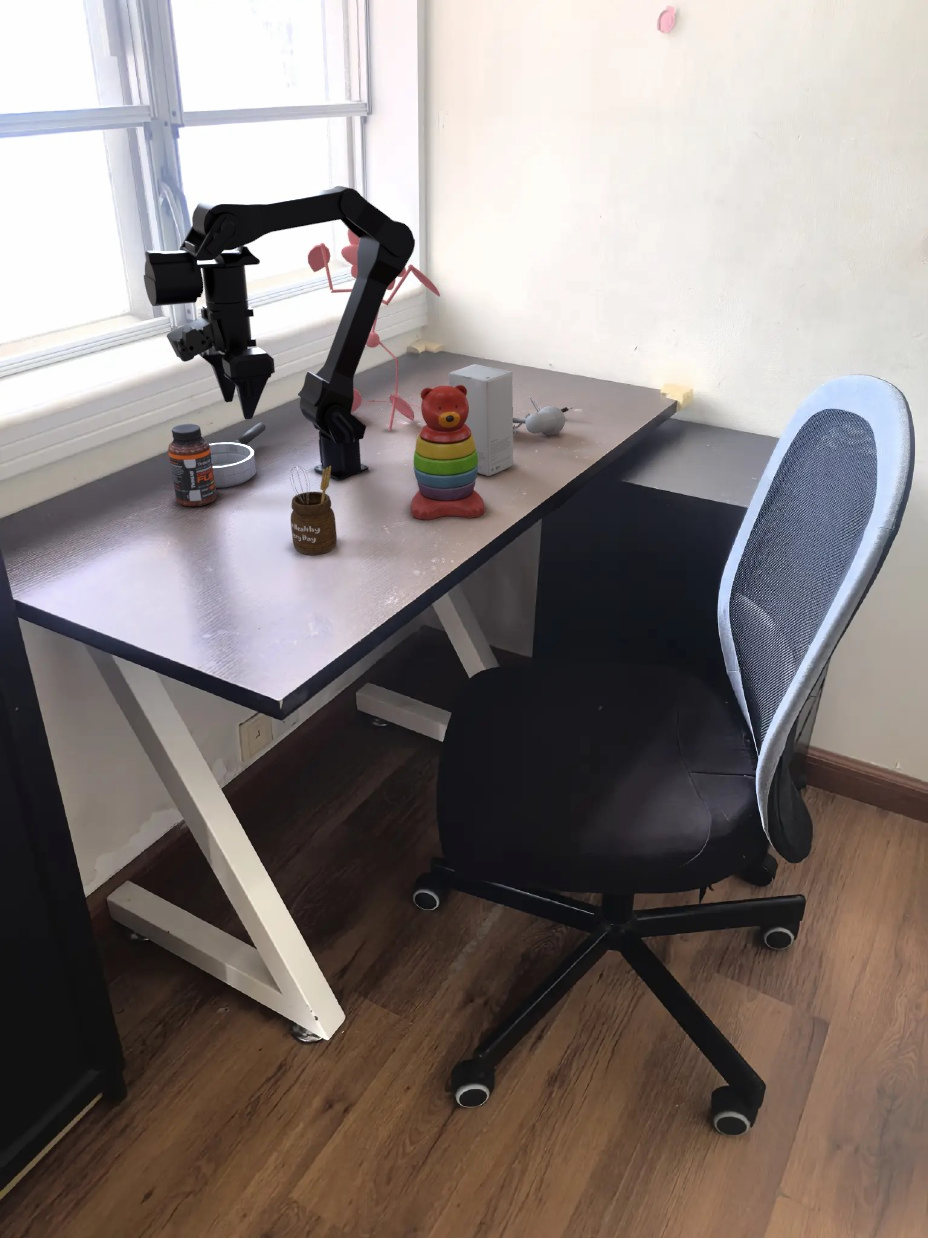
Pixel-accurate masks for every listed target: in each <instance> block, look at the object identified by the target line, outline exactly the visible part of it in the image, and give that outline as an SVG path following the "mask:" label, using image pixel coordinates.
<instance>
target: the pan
mask: <svg viewBox="0 0 928 1238" xmlns="http://www.w3.org/2000/svg"><path fill="white" fill-rule="evenodd" d="M229 445H236V446H237V451H230V450H229ZM209 446H210V451H211V458H212V466H213V473H214V480H215V486H216V489H218V488H219V489H221V488H228V487H234V486H237V485H240V484H244V483H246V482H248V481H250V480H251V479H252V478H253V477H254V476H255V475H256V473H257V463H256V457H255V451H254V449H253V448H252V447H251V446H249V445H247V444H246V445H243V444H238V443H232V442H215V443H209Z"/></svg>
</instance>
